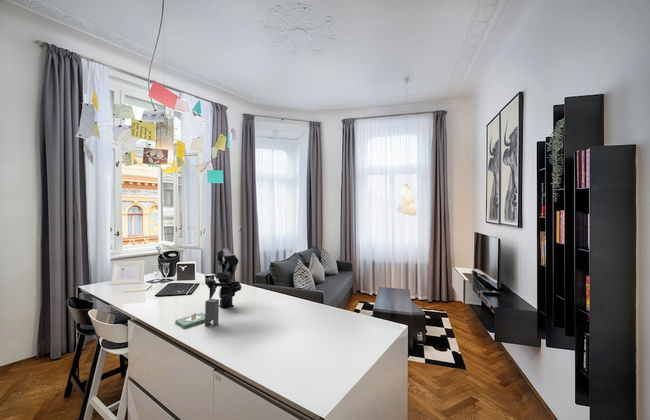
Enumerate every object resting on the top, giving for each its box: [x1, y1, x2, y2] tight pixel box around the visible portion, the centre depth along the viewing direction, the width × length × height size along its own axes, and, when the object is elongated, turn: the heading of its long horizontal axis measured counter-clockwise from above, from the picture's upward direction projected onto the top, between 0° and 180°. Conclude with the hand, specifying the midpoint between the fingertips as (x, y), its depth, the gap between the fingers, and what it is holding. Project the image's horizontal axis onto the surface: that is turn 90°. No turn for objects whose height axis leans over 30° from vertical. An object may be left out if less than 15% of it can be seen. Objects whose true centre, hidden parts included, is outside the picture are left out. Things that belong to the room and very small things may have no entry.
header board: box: [174, 312, 205, 329], centre depth 139 cm, size 14×10×4 cm
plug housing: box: [204, 298, 220, 328], centre depth 135 cm, size 4×5×12 cm
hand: (217, 299), depth 140 cm, fingers open, 9 cm apart
